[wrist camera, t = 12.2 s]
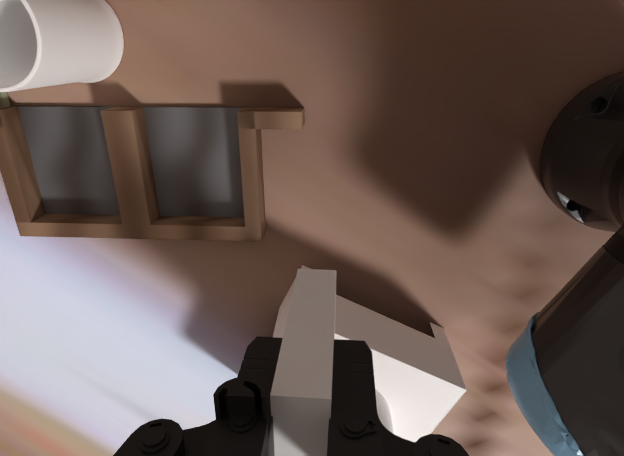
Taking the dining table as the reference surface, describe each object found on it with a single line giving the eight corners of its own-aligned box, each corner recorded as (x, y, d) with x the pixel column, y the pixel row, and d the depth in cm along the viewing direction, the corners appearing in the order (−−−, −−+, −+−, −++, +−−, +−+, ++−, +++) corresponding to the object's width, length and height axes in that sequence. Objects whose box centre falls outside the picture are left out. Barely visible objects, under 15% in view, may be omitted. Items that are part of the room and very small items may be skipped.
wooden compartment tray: (301, -114, 35) (295, -144, 29) (305, 230, 47) (300, 255, 42) (-65, -106, 37) (-136, -132, 31) (29, 225, 49) (-10, 247, 43)
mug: (38, -71, 37) (-88, -119, 26) (134, -39, 38) (49, -74, 27) (33, 67, 42) (-76, 75, 31) (119, 93, 42) (42, 110, 31)
